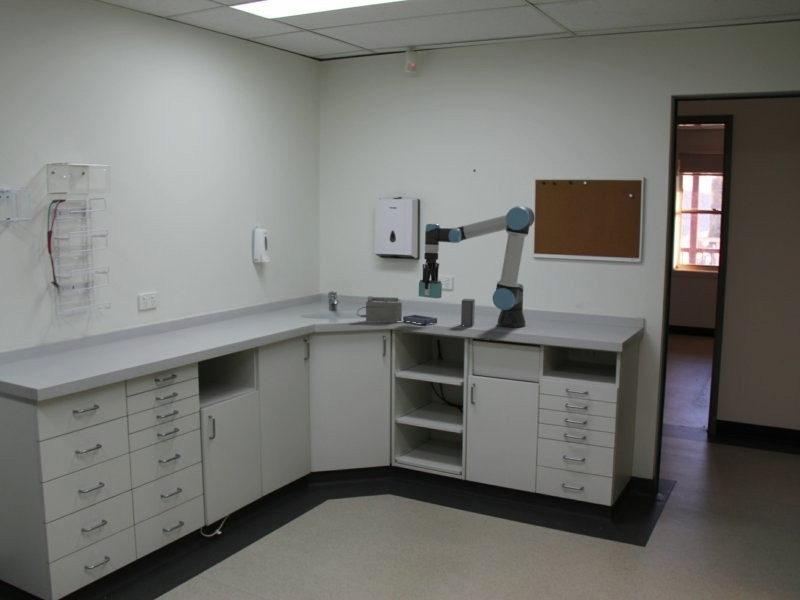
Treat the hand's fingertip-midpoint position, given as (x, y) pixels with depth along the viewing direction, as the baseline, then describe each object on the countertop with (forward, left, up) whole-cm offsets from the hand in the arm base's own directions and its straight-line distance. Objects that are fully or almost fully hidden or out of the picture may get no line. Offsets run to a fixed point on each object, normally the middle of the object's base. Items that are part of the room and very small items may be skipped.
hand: (429, 294), depth 410 cm
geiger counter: (+23, +16, -16) cm, 32 cm away
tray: (+5, +2, -16) cm, 17 cm away
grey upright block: (-19, -10, -16) cm, 27 cm away
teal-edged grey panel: (0, 0, -1) cm, 1 cm away
